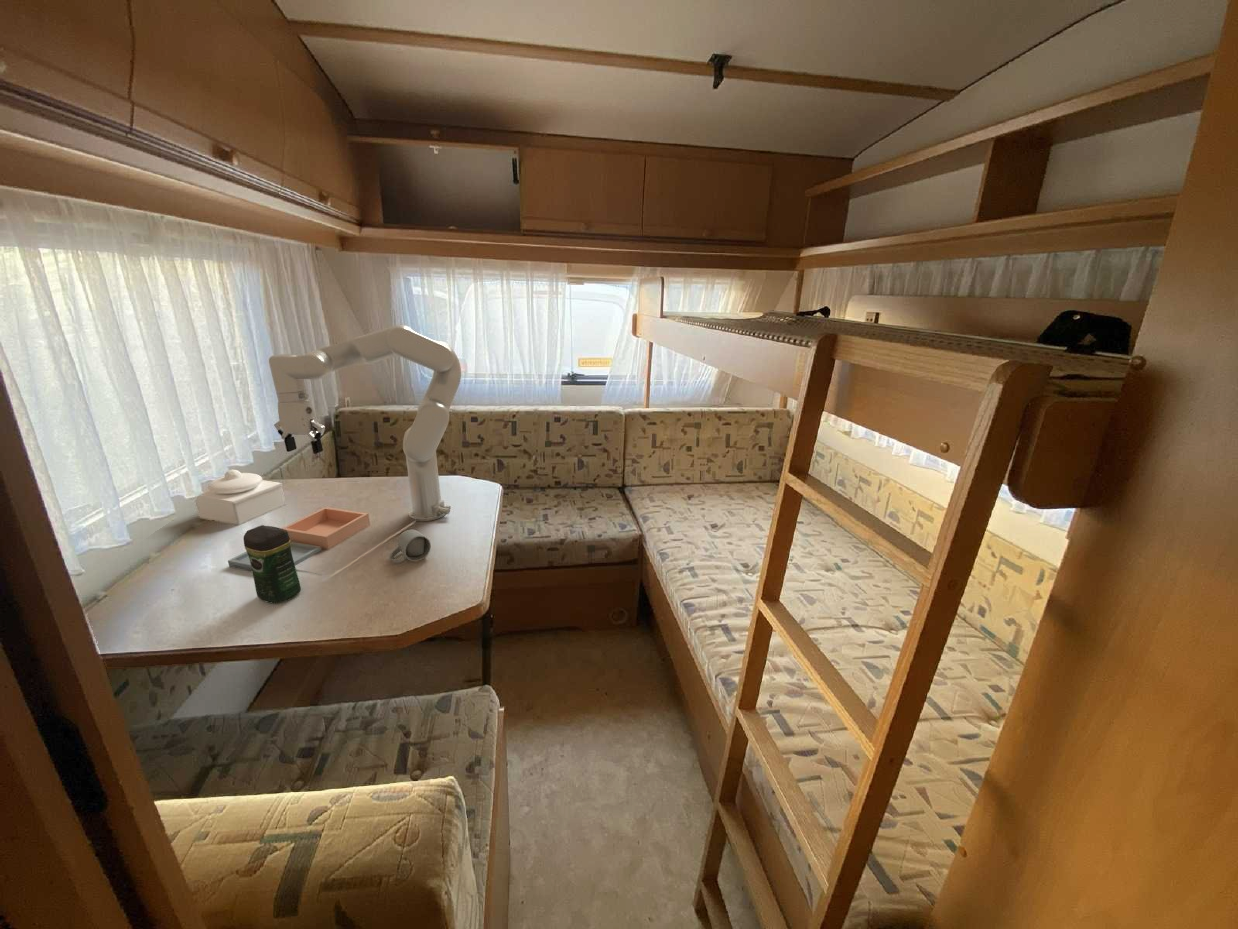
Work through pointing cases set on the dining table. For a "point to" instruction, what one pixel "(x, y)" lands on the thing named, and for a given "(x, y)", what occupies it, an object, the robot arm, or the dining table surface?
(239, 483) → the white box with knob
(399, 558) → the ceramic mug
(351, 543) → the dining table surface
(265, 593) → the coffee jar
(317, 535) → the terracotta dish
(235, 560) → the grey tray
